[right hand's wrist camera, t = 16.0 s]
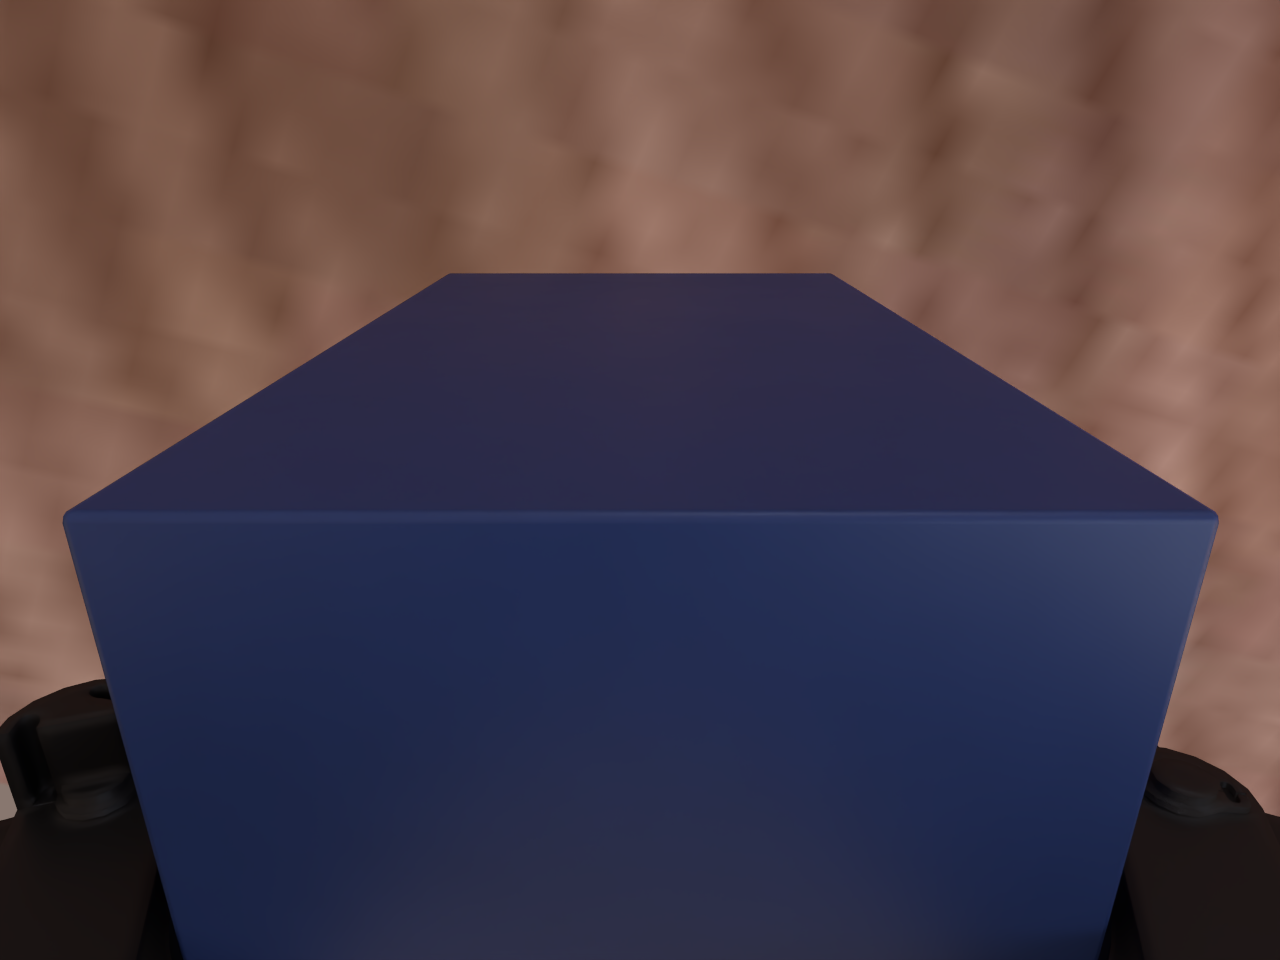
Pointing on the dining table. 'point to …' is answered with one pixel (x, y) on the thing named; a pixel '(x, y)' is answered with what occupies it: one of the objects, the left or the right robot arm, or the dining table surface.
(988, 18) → the dining table surface
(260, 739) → the brick
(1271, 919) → the right robot arm
